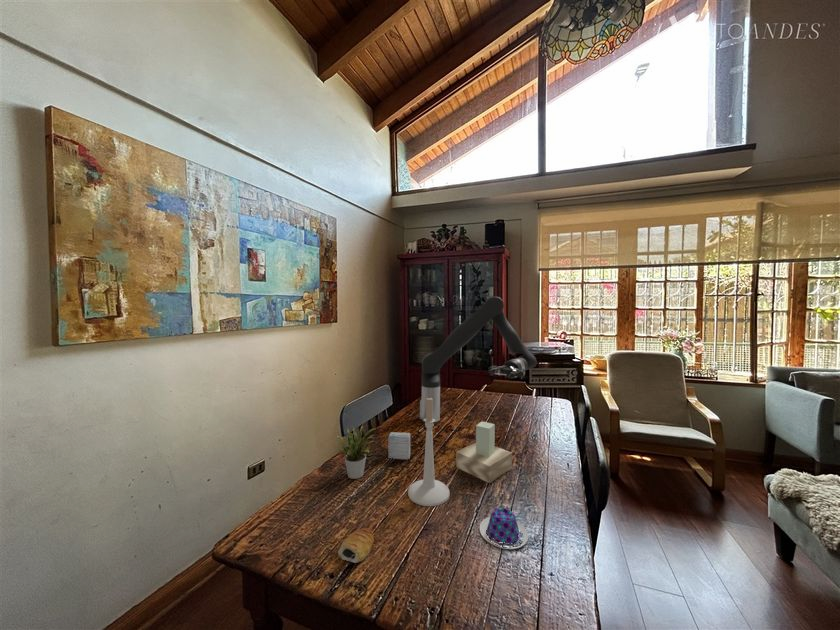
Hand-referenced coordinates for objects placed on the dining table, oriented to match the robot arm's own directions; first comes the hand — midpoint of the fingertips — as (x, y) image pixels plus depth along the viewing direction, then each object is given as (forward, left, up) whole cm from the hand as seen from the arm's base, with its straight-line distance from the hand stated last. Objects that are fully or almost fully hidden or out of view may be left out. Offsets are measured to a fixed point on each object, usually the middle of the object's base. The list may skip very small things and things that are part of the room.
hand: (500, 374), depth 130 cm
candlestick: (-6, -43, -30) cm, 53 cm away
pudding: (+19, -46, -30) cm, 58 cm away
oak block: (+2, -19, -30) cm, 36 cm away
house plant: (-31, -48, -30) cm, 65 cm away
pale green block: (+2, -19, -24) cm, 31 cm away
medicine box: (-28, -30, -30) cm, 51 cm away
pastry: (-7, -72, -30) cm, 79 cm away
